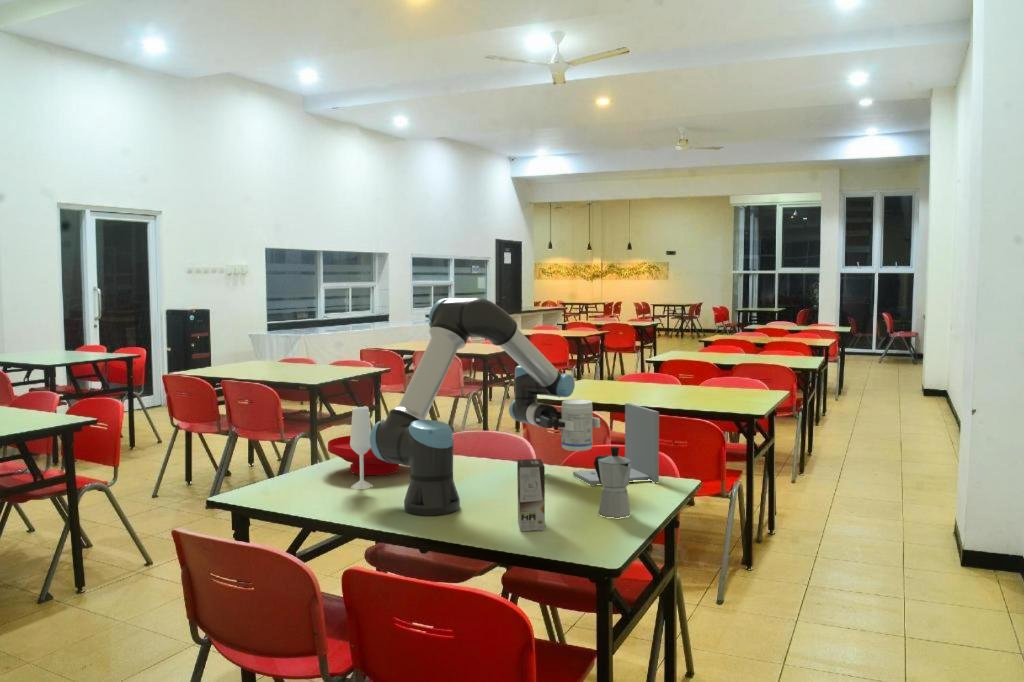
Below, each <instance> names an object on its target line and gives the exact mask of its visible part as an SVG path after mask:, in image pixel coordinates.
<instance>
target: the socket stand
mask: <svg viewBox="0 0 1024 682" xmlns="http://www.w3.org/2000/svg"><path fill="white" fill-rule="evenodd" d="M624 458H628V459H629V460H631V461H632V462H631V470H630V477H629V481H633V480H648V479H650V480H652V481H653V482H659V478H660V477H659V476H660V475H659V474H660V473H659V471H660V469H659V466H660V459H659V458H660V411H657V410H654V409H650V408H647V407H644V406H640V405H637V404H633V403H625V402H624ZM573 475H574V476H576V477H577V478H579V479H581V480H583V481H584V482H586V483H588V484H590V485H597V484H600V481H599V478H598V475H597V472H596V469H587V470H575V471H572V476H573ZM574 476H573V477H574ZM577 478H576V479H577ZM579 479H578V480H579ZM581 480H580V481H581ZM584 482H583V483H584ZM586 483H585V484H586ZM659 483H660V482H659ZM588 484H587V485H588Z"/></svg>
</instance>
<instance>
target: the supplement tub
mask: <svg viewBox="0 0 1024 682" xmlns="http://www.w3.org/2000/svg"><path fill="white" fill-rule="evenodd" d="M593 408H594V407H593V401H591V400H589V399H579V398H578V399H575V398H574V399H573V398H571V399H565V400H564V399H563V400H562V401H561V412H562V419H563V420H568V421H572V422H574V431H569V430H565V429H561V448H562V449H564V450H566V451H571V452H585V451H590V450H591V449H592V448H593V426H592V418H593V417H594V415H593V413H594V412H593Z"/></svg>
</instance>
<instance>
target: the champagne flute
mask: <svg viewBox="0 0 1024 682" xmlns="http://www.w3.org/2000/svg"><path fill="white" fill-rule="evenodd" d="M351 412H352V413H351V427H350V435H351V437H350V446H351V448H352V449H353V450H354V451H355V452H356V453H357V454H359V455H360V474H359V480H358V481H356V482H355V483H354V484H353V485H351V486H350V488H351V489H354V490H367V489H370V487H371V488H373V487H374V485H373V484H372V483H370V482H368V481H366V480H365V475H364V460H363V455H364V454H365V453H366V452H367V451H368V450H369V449H370V448H371V445H370V434H371V431H372V426H371V418H370V409H369V407H367V406H357V407H352V411H351Z"/></svg>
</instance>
